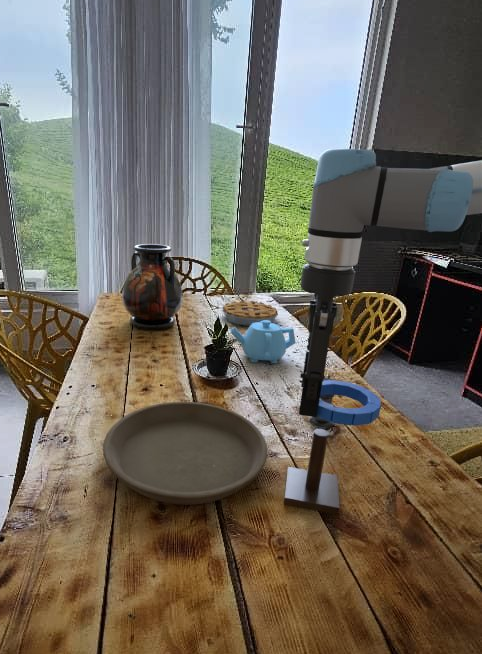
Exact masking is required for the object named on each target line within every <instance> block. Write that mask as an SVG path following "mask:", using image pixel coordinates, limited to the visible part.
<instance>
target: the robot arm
mask: <svg viewBox="0 0 482 654" xmlns="http://www.w3.org/2000/svg"><path fill="white" fill-rule="evenodd" d="M376 158H377V155H376V153H375V151H374V150H370V149H355V148H330V149H329V148H328V149H326V150H324V151H322V153H321V154H320V155H319V157H318V159H317V166H316V170H315V171H316V173H315V176H314V177H315V178H314V182H313V184H312V185H313V186H312V194H311V203H310V213H309V221H308V229H307V239H302V242H301V245H302V246H303V247H306V248H305V252H304V260H305V262H307V263H305V264H304V265H303V266H302V272H301V279H300V288H301V290H302V291H304V292H306V293H308V294H313V296H314V299H310V301H309V306H308V316H309V318H308V329H307V330H308V338H307V344H306V349H307V350H306V351H305V356H304V357H305V359H304V365H303V372H301V373H300V376H299V377H300V378H301V385H300V387H301V389H302V390H301V397H300V403H299V409H298V415H299V416H304V417H305V416H306V417H310V418H312V417H317V412H318V406H319V400H320V394H321V388H322V382H323V381H324V379H325V378H326V376H325V372H326V366H327V358H328V352H329V347H330V346H329V345H330V337H331V335H332V333H333V329H334V322H335V319H336V317H337V313H338V306H337V302H334V298H336V297H347V296H348V295H350V294H352V292H353V288H354V283H355V282H354V281H355V277H356V270H355V268H353V267H356V266H357V265H358V263H359V257H360V251H361V246H362V240H363V230H364V228H365V227H364V226H371V227H385V228H396V229H403V230H404V229H406V230H416V231H427V232H428V233H433V232H454V231H457V230H458V229H459V228H461V226H462V225H463V223H464V221H465V219H466V216H470V215H478V214H482V159H481V160H476V161H470V162H469V161H468V162H464V163H457V164H452V165H447V166H439V167H432V168H401V167H400V168H399V167H398V168H397V167H384V166H383V167H382V166H379V165H378V166H377V161H376V160H377V159H376Z"/></svg>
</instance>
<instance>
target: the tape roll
mask: <svg viewBox="0 0 482 654" xmlns="http://www.w3.org/2000/svg"><path fill="white" fill-rule="evenodd" d="M331 394H333V395H334V396H341V397H346V398H349V399H351V400H354V401H357V402H358V403H360V404H361V405H362V406H361V407H353V408H352V407H351V408H350V407H343V406H336V405H334V404H332V405H331V404H329V403H326V402H324V401H322V400H321V399H320V400H319V406H318V412H317V417H319V418H322V419H324V420H326V421H329V422H331V421H332V423H333V424H339V425H343V426H353V427H355V426H363V425H364V426H365V425H370V424H372V423H373V422H374V421H375V420H377V419H378V418H379V417H380V413H381V408H382V404H381V400H380V397H379V396H378V395H377V394H375V393H374V392H372V390H370V389H369V388H366V387H364V386H361V385H358V384H355V383H353V382H350V381H345V380H343V381H342V380H338V379H337V380H336V379H332V381H331V380H324V381H323V382H322V388H321V394H320V396H321V395H331Z"/></svg>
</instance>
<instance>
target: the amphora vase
mask: <svg viewBox="0 0 482 654" xmlns="http://www.w3.org/2000/svg"><path fill="white" fill-rule="evenodd" d="M133 250H134V251H135V252H134V253H132V256H131V260H130V265H131V270H130V272H129V273H128V275H127V277H126V279H125V281H124V284H123V287H122V293H121V300H122V304H123V307H124V308H125V310H126V312H127V313H128V314H129V315H130V316H131V317H130V319H129V323H130V324H131V325H132V327H135V328H137V329H140V330H145V331H160V330H161V331H162V330H166V329H169V328H171V327H173V326H174V325H175V323H176V319H175V315H176V314H177V313H178V312H179V310H180V309H181V307H182V304H183V290H182V289H183V288H182V285H181V282H180V279H179V278H178V276H177V274H176V265H175V261H174V259H173V257H170V256H166V255H167V254H168V253H170V252H172V247H170V246H169V245H166V244H158V243H144V244H143V243H142V244H137V245H135V246H133ZM138 258H139V262H138V263H137V260H138ZM167 263H168V264H169V265H168V264H167Z"/></svg>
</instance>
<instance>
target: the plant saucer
mask: <svg viewBox="0 0 482 654" xmlns="http://www.w3.org/2000/svg"><path fill="white" fill-rule="evenodd" d="M104 437H105V438H104V441H103V447H102V451H103V457H104V461H105V463H106V465H107V467H108V468H109V470H110V471H111V472H112V473H113V475H114V476H115V477H116V478H117V480H119V481H120V482H121V483H122V484H124V485H125V486H126V487H127V488H129V489H130V490H132V491H135V492H136V493H138V494H139V495H142V496H143V497H146V498H148V499H150V500H153V501H157V502H159V503H165V504H170V505H179V506H193V505H203V504H208V503H213V502H216V501H220V500H222V499H225V498H227V497H229V496H232V495H233V494H235V493H237V492H239V491H241V490H243V489H244V488H245V487H247V486H248V485H249V484H251V483H252V482H253V481H254V480H255V479H256V478H257V477H258V476H259V475H260V474H261V472H262V471H263V469H264V467H265V465H266V462H267V459H268V445H267V442H266V440H265V437H264V435H263V433H262V431H260V430H259V428H258V427H257V426H256V425H255V424H254V423H253V422H252V421H250V420H249V419H248V418H246V417H244V416H243V415H242V414H240V413H237V412H235V411H233V410H230V409H228V408H225V407H222V406H219V405H214V404H210V403H203V402H194V401H172V402H171V401H170V402H162V403H156V404H153V405H148V406H145V407H142V408H138V409H137V410H134V411H132V412H130V413H128V414H125V416H123V417H122V418H120V419H119V420H117V422H115V423H114V424H113V425H112V427H110V429H109V430H108V432H107V433H106V436H104Z"/></svg>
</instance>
